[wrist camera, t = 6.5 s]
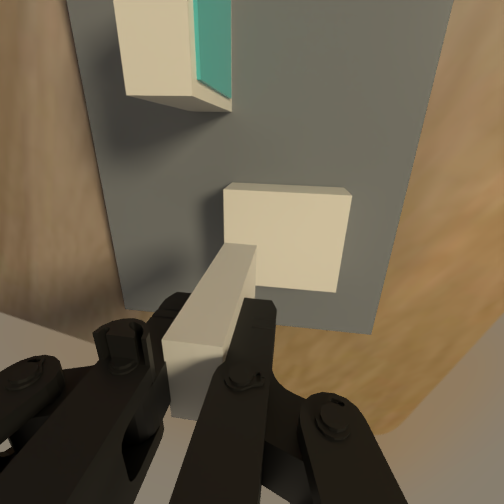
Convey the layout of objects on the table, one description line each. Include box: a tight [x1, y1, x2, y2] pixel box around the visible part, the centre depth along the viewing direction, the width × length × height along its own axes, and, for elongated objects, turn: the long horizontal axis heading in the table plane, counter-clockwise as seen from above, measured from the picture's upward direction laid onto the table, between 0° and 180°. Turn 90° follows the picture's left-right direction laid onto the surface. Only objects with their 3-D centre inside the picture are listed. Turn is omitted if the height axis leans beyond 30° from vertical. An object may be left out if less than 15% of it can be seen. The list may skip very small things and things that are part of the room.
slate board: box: [66, 0, 454, 335], centre depth 18 cm, size 24×20×1 cm
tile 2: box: [223, 182, 352, 293], centre depth 17 cm, size 6×3×7 cm
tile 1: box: [113, 0, 232, 112], centre depth 12 cm, size 6×3×7 cm, turn 178°
